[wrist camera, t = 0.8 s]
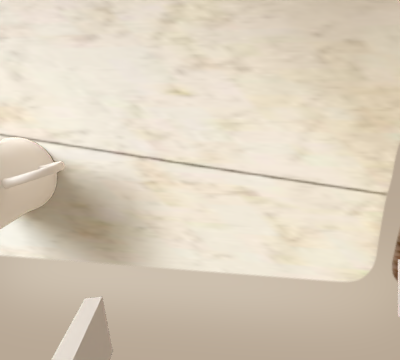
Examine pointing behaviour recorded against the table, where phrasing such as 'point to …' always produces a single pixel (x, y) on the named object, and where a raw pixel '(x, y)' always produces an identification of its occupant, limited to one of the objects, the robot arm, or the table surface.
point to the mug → (24, 178)
